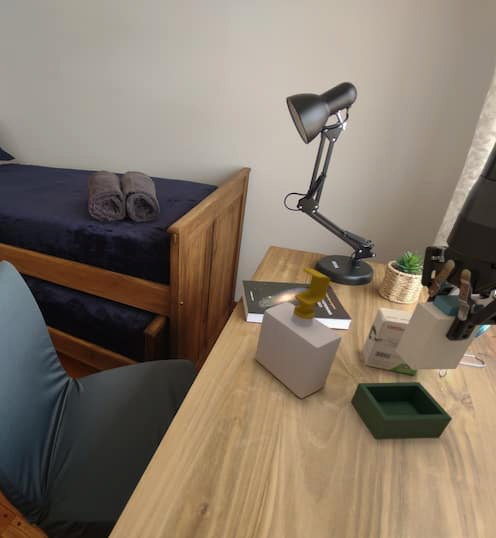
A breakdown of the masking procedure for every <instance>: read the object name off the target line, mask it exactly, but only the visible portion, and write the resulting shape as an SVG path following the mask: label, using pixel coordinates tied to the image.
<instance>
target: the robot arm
mask: <svg viewBox="0 0 496 538" xmlns="http://www.w3.org/2000/svg"><path fill="white" fill-rule="evenodd" d="M466 195H467V196H466V198H465V200H464V202H463V204H462V206H461V208H460V210H459V213H458V214H457V217H456V219H455V221H454V224H453V226H452V228H451V230H450V232H449V234H448V236H447V238H446V245H432V246H427V247H426V248H425V251H424V258H423V264H422V265H423V266H422V272H421V277H420V285H421V286H422V287H426V288H427V294H428V297H427V299H426V302H434V300H435V298H436V296H439V295H453V293H454V292H456V290H457V289H458V290H459V291H458V295H459V296H458V301H459V302H460V303H461V304H460V308H459V312H458V316H456V317H455V320H454V321H453V323H452V325H451V327H450V329H449V331H448V332H447V334H446V338H448V339H449V340H450V341H462V340H466V339H468V338H469V337H470V335H471V333H472V332H473V330H474V328H475V327H476V325H482V326H496V141H495V142H494V145H493V146H492V149H491V151H490V152H489V155H488V157H487V159H486V161H485V163H484V165H483V167H482V170H481V172H480V174H479V176H478V177H477V179H476V181H475V182H474V184H473V185H472V187H471V189H470V190H469V192H468V194H466ZM434 271H435V272H434ZM433 272H434V277H432V276H433ZM473 305H474V310H473V311H471V310H472V306H473Z"/></svg>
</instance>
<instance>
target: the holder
mask: <svg viewBox="0 0 496 538" xmlns="http://www.w3.org/2000/svg"><path fill="white" fill-rule="evenodd" d="M350 403H351V404H352V405H353V407H354V409H355V410H356V412H357V413H358V415H359V416H360V418H361V419H362V421H363V423H364V424H365V425H366V427H367V428H368V430H369V432H370V433H371V435H372V436H373V438H374V439H375V440H381V439H382V440H384V439H385V440H388V439H426V438H427V439H432V438H433V439H434V438H440V437H441V436H442V435H443V433H444V432H445V430H446V429H447V427H448V425H449V423H450V422H451V421H452V419H453V417H451V415H450V414H449V413H448V412H447V411H446V410H445V409H444V408H443V407H442V405H441V404H440V403H439V402H438V401H437V400H436V399H435V398H434V397H433V395H432V394H431V393H430V392H429V391H428V390H427V389H426V388H425V387H424V386H423V384H422V383H421V382H419V381H407V382H406V381H402V382H401V381H399V382H397V381H395V382H358V384H357V386H356V389H355V391H354V394H353V396H352V398H351V401H350Z"/></svg>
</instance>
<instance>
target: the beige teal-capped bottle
mask: <svg viewBox="0 0 496 538" xmlns="http://www.w3.org/2000/svg"><path fill="white" fill-rule="evenodd" d="M458 296H459V294H451V295H439V296H436V298H435V300H434V302H427V301H418V302H417V304H416V306H415V308H414V310H413V312H412V313H413V314H412V316H411V319H410V321H409V323H408V325H407V327H406V329H405V331H404V334H403V336H402V338H401V340H400V342H399V344H398V346H397V348H396V353H397V354H398V355H399V356H400V357H401V358H402V359H403V360H404V361H405V362H406V363H407V364H408V366H409V367H410V368H411V369H412V370H417V371H418V370H419V371H421V370H422V371H423V370H456V369H457V368H458V366H459V365H460V363H461V361H462V359H463V358H464V356H465V354H466V353H467V352H468V349H469V348H470V346H471V344H472V343H473V341H474V340H475V338H476V336H477V334H478V333H479V331H480V329H481V328H482V326H483V325H476V327H475V328H474V330H473V332H472V333H471V335H470V337H469V338H468V339H466V340H462V341H450V340H449V339H448V338H446V334H447V332H448V331H449V329H450V327H451V325H452V323H453V321H454V320H455V317H456V316H458V312H459V308H460V304H461V303H460V302H459V301H458ZM474 306H475V305H473V306H472V310H471V311H473V310H474Z"/></svg>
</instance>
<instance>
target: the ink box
mask: <svg viewBox="0 0 496 538" xmlns="http://www.w3.org/2000/svg"><path fill="white" fill-rule="evenodd" d="M412 314H413V312H411V311H405V310H399V309H394V308H393V309H392V308H387V307H380V306H379V307H378V309H377V312H376V315H375V317H374V319H373V322H372V324H371V327H370V330H369V332H368V335H367V338H366V340H365V342H364V345H363V347H362V350H361V353H362V354H361V355H362V358H363V362H364V365H365V366H367V367H370V368H371V367H373V368H376V369H381V370H387V371H392V372H396V373H402V374H407V375H412V376H415V375H416V374H417V371H418V370H412V369H411V368H410V367H409V366H408V364H407V363H406V362H405V361H404V360H403V359H402V358H401V357H400V356H399V355H398V354H397V353H396V348H397V346H398V344H399V342H400V340H401V338H402V336H403V334H404V331H405V329H406V327H407V325H408V323H409V321H410V319H411V316H412Z"/></svg>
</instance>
